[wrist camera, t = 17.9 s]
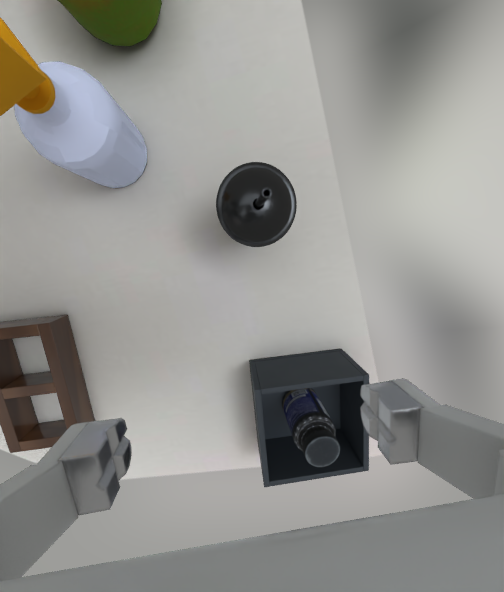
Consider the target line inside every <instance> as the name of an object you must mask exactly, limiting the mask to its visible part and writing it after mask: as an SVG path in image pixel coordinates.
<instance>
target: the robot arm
mask: <svg viewBox="0 0 504 592" xmlns="http://www.w3.org/2000/svg"><path fill="white" fill-rule="evenodd" d="M360 396H361V398H362V399H363V400H364V403H363V404H362V406H361V407H360V409H361V419H362V422H363V426H364V428H365V430H366V431H367V433H368V434H369V436H370V437H372V438H373V439H375V440H377V441H378V448H379V450H380V451H381V452H382V454H383V455H384V456H385V458H386V459H387V460H388V462H389V463H390V464H399V463H407V462H415V461H418V463H419V464H421V465H422V466H424V467H425V468H427V469H429V470H430V471H432V472H433V473H435V474H436V475H438V476H439V477H441V478H442V479H444V480H446V481H447V482H449V483H450V484H452V485H453V486H455V487H456V488H458V489H459V490H461V491H463V492H464V493H466V494H467V495H469V496H470V497H472V498H473V499H471V500H466V501H460V502H454V503H449V504H443V505H437V506H432V507H426V508H420V509H415V510H409V511H403V512H397V513H392V514H385V515H379V516H374V517H368V518H362V519H356V520H350V521H344V522H338V523H333V524H327V525H321V526H316V527H310V528H303V529H297V530H292V531H286V532H280V533H274V534H269V535H263V536H257V537H252V538H246V539H240V540H235V541H229V542H223V543H217V544H211V545H205V546H200V547H194V548H188V549H182V550H177V551H171V552H165V553H159V554H153V555H148V556H142V557H136V558H130V559H125V560H119V561H113V562H107V563H101V564H96V565H90V566H84V567H78V568H72V569H67V570H61V571H55V572H49V573H44V574H38V575H32V576H26V577H22V575H24V574H25V573H26V572H27V570H28V569H29V568H30V567H31V566H32V565H33V564H34V563H35V562H36V561H37V560H38V559H39V558H40V557H41V556H42V555H43V554H44V553H45V552H46V551H47V550H48V548H50V546H51V545H52V544H53V543H54V542H55V541H56V540H57V539H58V538H59V537H60V536H61V535H62V534H63V533H64V532H65V531H66V530H67V529H68V528H69V527H70V525H72V524H73V522H74V521H75V520H76V519H77V518H78V515H83V514H88V513H93V512H99V511H104V510H109V509H110V508H111V506H112V504H113V501H114V499H115V497H116V495H117V493H118V491H119V488H120V485H119V480H120V479H121V478H122V477H123V476H124V475H125V474H126V473H127V470H128V468H129V466H130V460H131V444H130V440H128V439H127V438H126V437H125V436H124V434H125V432H126V430H127V427H126V423H125V420H124V419H122V418H118V419H109V420H100V421H92V422H84V423H77V424H74V425H71V426H70V427H69V428H68V429H67V431H66V432H65V433H64V434H63V435H62V436H61V437H60V439H59V440H58V441H57V442H56V443H55V444H54V445H53V447H52V448H51V449H50V450H49V451H48V452H47V453H46V454H45V456H44V457H43V458H42V459H41V460H40V461H39V462H38V464H37V465H31V466H29V467H28V468H26V469H24V470H23V471H21V472H20V473H18V474H16V475H15V476H13V477H12V478H10V479H8V480H7V481H5V482H4V483H2V484H0V592H504V424H502V423H499V422H496V421H493V420H490V419H486V418H484V417H480V416H478V415H475V414H472V413H469V412H466V411H463V410H460V409H457V408H454V407H451V406H448V405H440V404H439V403H437V402H436V401H435V400H433V399H432V398H431V397H429V396H428V395H426V393H424V392H423V391H422V390H420V389H419V388H418V387H416V386H415V385H414V384H412V383H411V382H410V381H408V380H407V379H403V378H402V379H396V380H391V381H386V382H380V383H373V384H367V385H362V386H361V389H360Z"/></svg>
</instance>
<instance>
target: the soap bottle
mask: <svg viewBox="0 0 504 592" xmlns="http://www.w3.org/2000/svg"><path fill="white" fill-rule="evenodd" d="M13 106H14V107H15V117H16V119H17V121H18V124H19V126H20V128H21V131H22V133H23V134H24V136H25V137H26V138H27V139H28V141H29V142H30V143H31V144H32V146H33V147H34V148H35V149H36V150H37V152H38V153H39V154H40V155H42V156H43V157H45V158H46V159H48V160H49V161H51V162H52V163H54V164H55V165H58V166H60V167H62V168H64V169H67V170H69V171H71V172H73V173H75V174H78V175H80V176H82V177H84V178H87V179H89V180H91V181H93V182H96V183H98V184H100V185H104V186H107V187H111V188H119V187H126V186H128V185H130V184H132V183H134V182H135V181H136V180H137V179H138V178H139V177H140V176H141V175H142V174H143V171H144V168H145V166H146V163H147V148H146V145H145V142H144V139H143V136H142V135H141V133H140V132H139V130H138V129H137V128H136V126H135V125H134V124H133V122H132V121H131V120H130V119H129V117H128V116H127V115H126V114H125V112H124V111H123V110H122V109H121V107H120V106H119V105H118V104H117V102H116V101H115V100H114V99H113V98H112V96H111V95H110V94H109V93H108V91H107V90H106V89H105V88H104V86H103V85H102V84H101V83H100V82H99V81H98V80H97V79H95V78H94V77H93V76H91V75H90V74H89V73H87V72H86V71H85V70H83V69H80V68H78V67H75V66H72V65H69V64H66V63H63V62H60V61H57V62H42V63H40V64H38V65H37V64H36V63H35V61H34V60H33V59H32V57H31V56H30V55H29V53H28V52H27V51H26V50H25V48H24V47H23V46H22V44H21V43H20V42H19V40H18V39H17V38H16V37H15V35H14V34H13V33H12V31H11V30H10V29H9V27H8V26H7V25H6V24H5V22H4V21H3V20H2V19H1V18H0V116H1V115H3V114H4V113H5V112H6V111H8V110H9V109H10V108H11V107H13Z"/></svg>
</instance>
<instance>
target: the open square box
mask: <svg viewBox="0 0 504 592" xmlns="http://www.w3.org/2000/svg"><path fill="white" fill-rule="evenodd" d="M249 362H250V372H251V381H252V391H253V401H254V410H255V420H256V430H257V439H258V447H259V454H260V461H261V468H262V474H263V482H264V487H269V486H275V485H281V484H287V483H294V482H299V481H306V480H312V479H319V478H324V477H330V476H337V475H344V474H350V473H356V472H362V471H368V470H369V434H368V433H367V431H366V430H365V428H364V426H363V422H362V419H361V409H360V407H361V406H362V404H363V403H364V400H363V399H362V398H361V396H360V389H361V386H362V385H367V384H369V374H368V373H367V372H366V371H364V370H363V369H362V368H361V367H360V366H359V365H358V364H357V363H356V362H355V361H354V360H353V359H352V358H351V357H350V356H349V355H348V354H346V353H345V352H344V351H343V350H342V349H334V350H326V351H318V352H310V353H303V354H295V355H287V356H279V357H271V358H263V359H255V360H249ZM305 388H311V389H312V390H313V391H315V393H316V395H317V396H318V398H319V400H320V401H321V403H322V405H323V406H324V408H325V410H326V412H327V413H328V415H329V417H330V418H331V420H332V422H333V424H334V426H335V430H336V435H335V437H336V439H337V441H338V443H339V446H340V453H339V456H338V458H337V459H336V460H335V461H334V462H333V463H332V464H330V465H328V466H325V467H315V466H313V465H311V464H309V463H308V461H307V460H306V458H305V455H304V453H303V451H301V450H300V449H299V448H298V447H297V446H296V444H295V442H294V440H293V436H292V434H291V431H290V428H289V425H288V422H287V419H286V416H285V413H284V410H283V406H282V400H283V397H284V395H285V394H286V392H287V391H291V390H298V389H305Z"/></svg>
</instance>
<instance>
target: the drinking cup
mask: <svg viewBox="0 0 504 592" xmlns="http://www.w3.org/2000/svg"><path fill="white" fill-rule="evenodd" d="M216 210H217V215H218V219H219V221H220V223H221V225H222V227H223V229H224V230H225V232H226V233H227V234H228V235H229V236H230V237H231V238H232V239H234V240H235V241H237V242H239V243H241V244H243V245H246V246H251V247H262V246H267V245H270V244H273V243H275V242H276V241H278V240H279V239H281V238H282V237H283V236H284V235H285V234H286V233H287V232H288V230H289V229H290V227H291V225H292V223H293V221H294V218H295V214H296V196H295V192H294V189H293V186H292V184H291V183H290V181H289V179H288V178H287V177H286V176H285V175H284V174H283V173H282V172H281V171H280V170H279V169H277V168H276V167H274V166H272V165H269V164H266V163H262V162H251V163H246V164H243V165H240V166H238V167H236V168H235V169H233V170H232V171H231V172H230V173H229V174H228V175H227V176H226V177H225V178H224V180H223V181H222V183H221V185H220V187H219V190H218V193H217V199H216Z"/></svg>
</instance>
